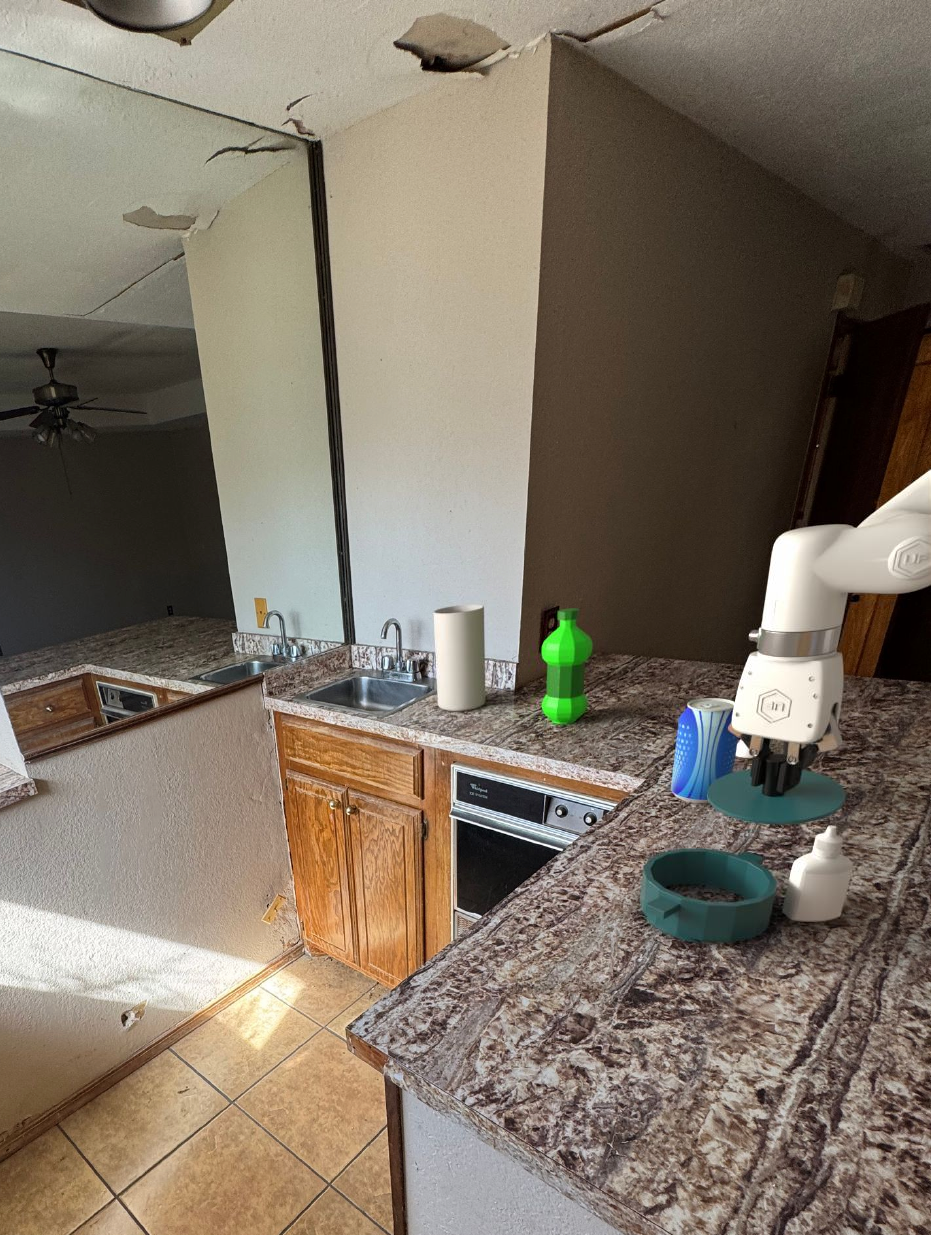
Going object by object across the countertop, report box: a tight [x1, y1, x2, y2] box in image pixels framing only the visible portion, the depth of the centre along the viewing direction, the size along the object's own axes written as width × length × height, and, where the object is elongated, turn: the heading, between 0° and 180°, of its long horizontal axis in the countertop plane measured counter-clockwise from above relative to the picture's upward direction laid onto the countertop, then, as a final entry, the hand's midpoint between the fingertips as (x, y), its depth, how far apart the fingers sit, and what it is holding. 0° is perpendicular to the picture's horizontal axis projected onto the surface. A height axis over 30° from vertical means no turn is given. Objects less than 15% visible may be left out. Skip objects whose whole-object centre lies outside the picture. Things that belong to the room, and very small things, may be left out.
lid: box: [707, 753, 847, 825], centre depth 83 cm, size 15×15×6 cm
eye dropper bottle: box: [781, 825, 854, 923], centre depth 74 cm, size 4×6×12 cm
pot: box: [639, 848, 779, 945], centre depth 79 cm, size 14×19×6 cm
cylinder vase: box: [433, 603, 486, 712], centre depth 169 cm, size 12×12×25 cm
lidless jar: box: [735, 738, 753, 759], centre depth 120 cm, size 5×3×5 cm
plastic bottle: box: [541, 607, 594, 725], centre depth 146 cm, size 10×10×25 cm
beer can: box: [670, 697, 739, 804], centre depth 104 cm, size 8×8×16 cm
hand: (773, 785), depth 84 cm, fingers closed on lid, 2 cm apart
